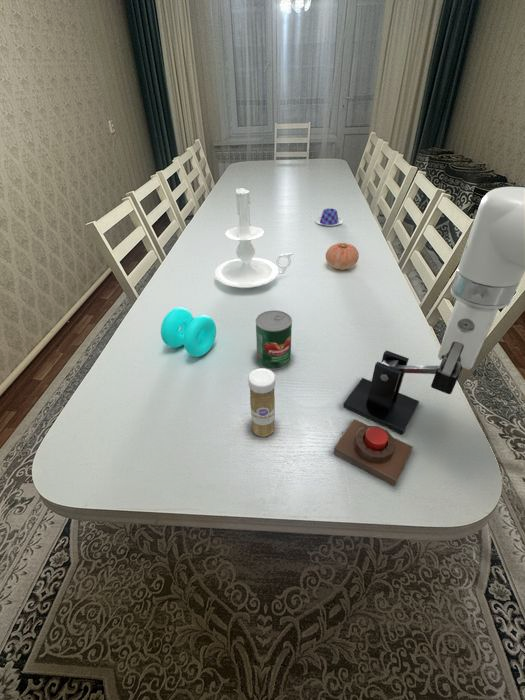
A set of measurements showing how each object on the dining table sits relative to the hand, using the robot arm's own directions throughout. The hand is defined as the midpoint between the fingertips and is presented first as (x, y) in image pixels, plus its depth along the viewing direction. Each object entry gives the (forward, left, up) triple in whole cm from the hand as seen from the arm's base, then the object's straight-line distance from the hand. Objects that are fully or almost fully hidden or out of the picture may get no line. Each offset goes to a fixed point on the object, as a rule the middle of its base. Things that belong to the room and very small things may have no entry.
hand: (444, 382), depth 60 cm
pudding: (+68, -90, -12) cm, 113 cm away
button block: (+6, +12, -11) cm, 17 cm away
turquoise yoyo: (+54, +8, -12) cm, 56 cm away
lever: (+4, 0, -1) cm, 4 cm away
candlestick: (+63, -29, -12) cm, 70 cm away
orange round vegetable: (+44, -53, -12) cm, 70 cm away
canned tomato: (+35, 0, -12) cm, 37 cm away
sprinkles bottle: (+25, +18, -12) cm, 33 cm away
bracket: (+9, 0, -11) cm, 15 cm away
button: (+6, +11, -8) cm, 15 cm away
